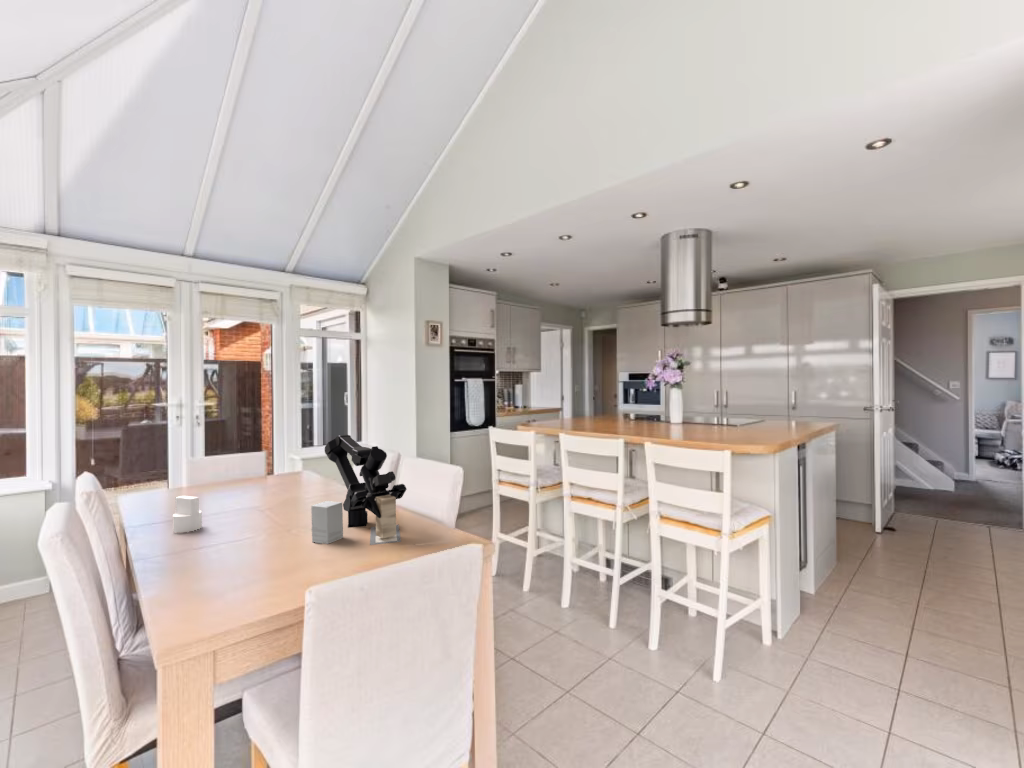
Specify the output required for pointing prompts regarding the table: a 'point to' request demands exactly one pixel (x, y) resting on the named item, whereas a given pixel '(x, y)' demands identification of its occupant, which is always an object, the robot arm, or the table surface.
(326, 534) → the supplement box
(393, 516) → the beech post
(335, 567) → the table surface
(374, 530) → the mat
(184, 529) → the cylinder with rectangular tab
